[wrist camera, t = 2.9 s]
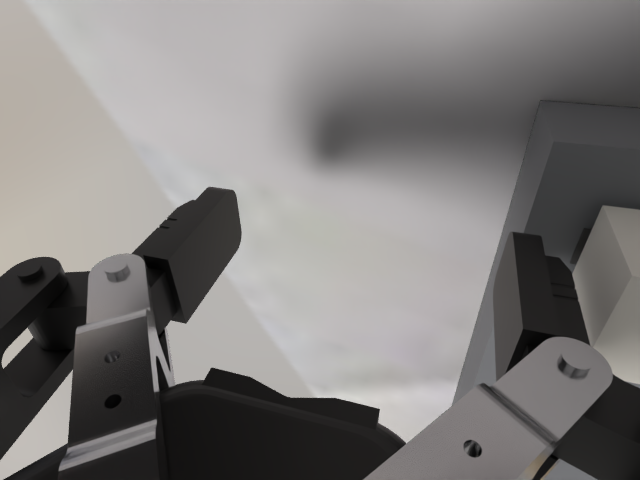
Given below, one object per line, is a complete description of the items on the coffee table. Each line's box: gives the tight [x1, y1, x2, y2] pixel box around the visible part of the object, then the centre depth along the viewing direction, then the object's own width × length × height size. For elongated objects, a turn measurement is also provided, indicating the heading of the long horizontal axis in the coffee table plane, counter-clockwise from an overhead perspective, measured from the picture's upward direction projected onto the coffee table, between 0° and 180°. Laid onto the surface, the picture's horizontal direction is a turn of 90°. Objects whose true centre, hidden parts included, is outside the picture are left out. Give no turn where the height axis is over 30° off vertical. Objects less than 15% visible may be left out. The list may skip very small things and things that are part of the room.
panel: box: [452, 101, 640, 480], centre depth 17 cm, size 22×9×4 cm, turn 0°
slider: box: [572, 205, 640, 384], centre depth 11 cm, size 3×2×3 cm, turn 0°
